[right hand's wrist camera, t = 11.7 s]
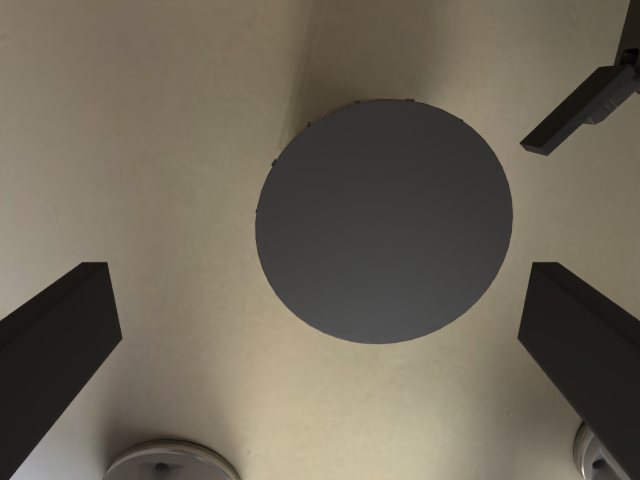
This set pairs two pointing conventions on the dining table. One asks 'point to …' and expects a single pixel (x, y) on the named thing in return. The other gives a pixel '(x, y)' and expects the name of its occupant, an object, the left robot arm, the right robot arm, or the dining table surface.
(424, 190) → the lid
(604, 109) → the left robot arm
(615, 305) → the right robot arm
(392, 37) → the dining table surface
